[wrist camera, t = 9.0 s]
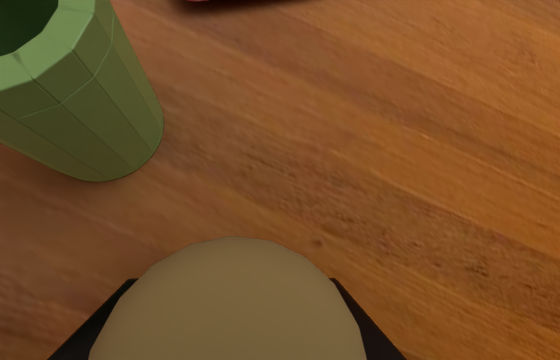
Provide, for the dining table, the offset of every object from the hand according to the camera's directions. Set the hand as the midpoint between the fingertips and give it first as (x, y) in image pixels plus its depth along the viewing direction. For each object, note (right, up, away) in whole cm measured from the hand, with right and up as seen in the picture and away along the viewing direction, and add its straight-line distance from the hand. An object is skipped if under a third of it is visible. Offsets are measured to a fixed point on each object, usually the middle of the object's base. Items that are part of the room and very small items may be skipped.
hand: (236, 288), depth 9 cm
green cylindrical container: (-9, +6, +10) cm, 15 cm away
